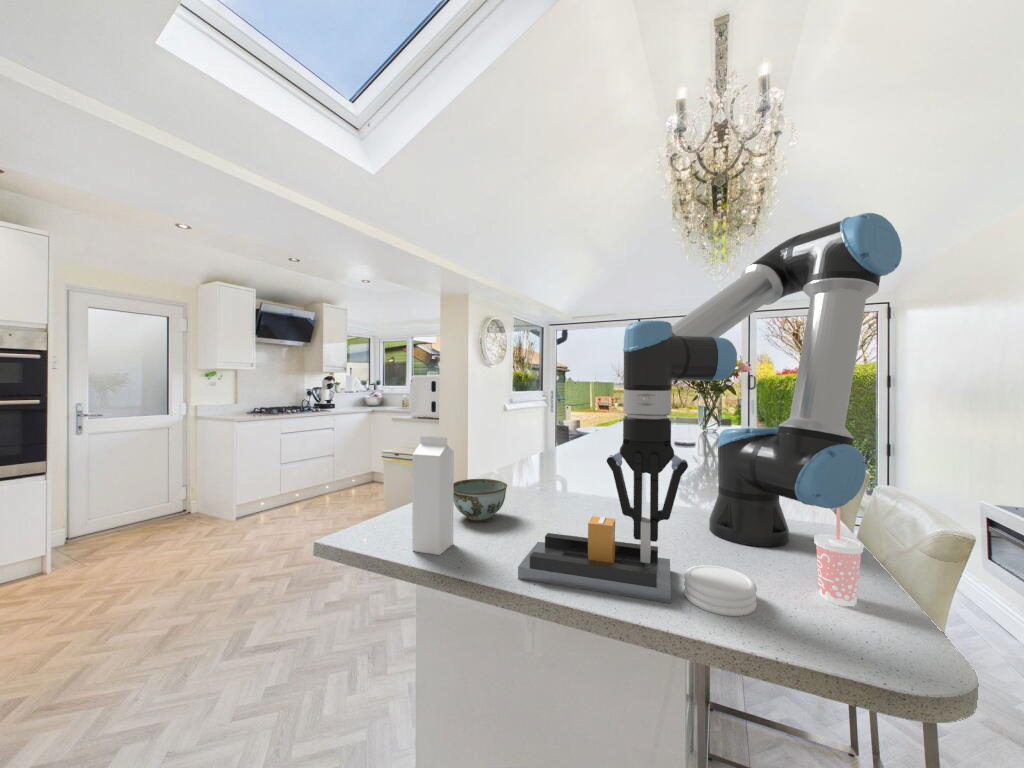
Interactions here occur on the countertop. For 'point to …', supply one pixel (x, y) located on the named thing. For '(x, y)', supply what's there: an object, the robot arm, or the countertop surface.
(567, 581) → the panel
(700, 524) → the countertop surface
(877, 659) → the countertop surface
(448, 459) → the milk
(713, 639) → the countertop surface
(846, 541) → the beverage cup
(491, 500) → the bowl
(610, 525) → the lever
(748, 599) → the coaster
